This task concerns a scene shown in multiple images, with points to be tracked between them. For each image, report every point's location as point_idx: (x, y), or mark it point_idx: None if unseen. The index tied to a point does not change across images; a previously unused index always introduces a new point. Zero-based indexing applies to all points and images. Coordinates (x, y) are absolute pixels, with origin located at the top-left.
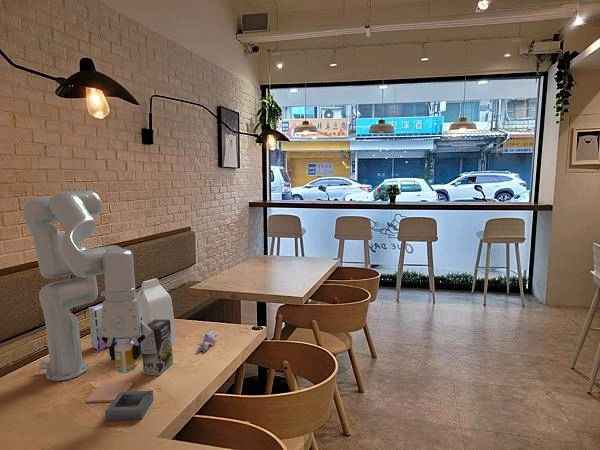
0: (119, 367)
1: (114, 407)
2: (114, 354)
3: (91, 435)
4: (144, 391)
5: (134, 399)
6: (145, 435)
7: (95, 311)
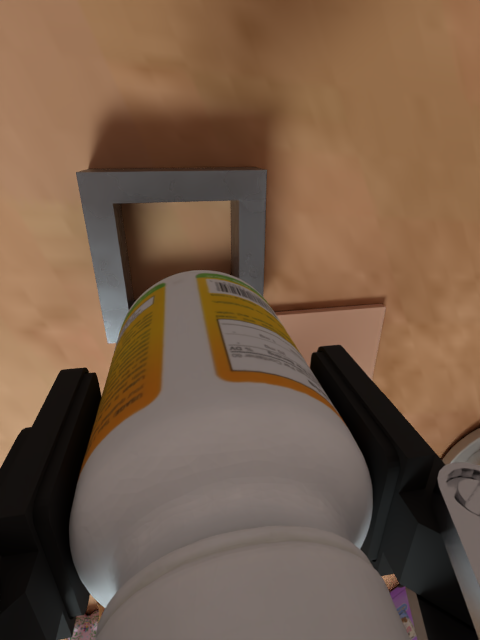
0: (230, 289)
1: (231, 197)
2: (330, 399)
3: (275, 43)
4: None
5: None
6: None
7: None
